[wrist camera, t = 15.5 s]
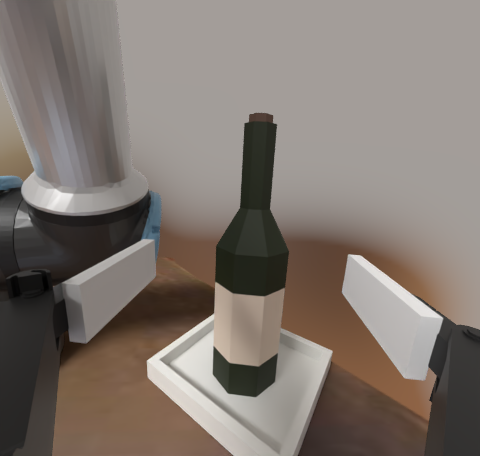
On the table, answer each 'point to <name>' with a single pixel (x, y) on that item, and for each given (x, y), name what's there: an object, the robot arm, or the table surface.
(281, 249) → the wine bottle
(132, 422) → the table surface
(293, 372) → the serving tray
